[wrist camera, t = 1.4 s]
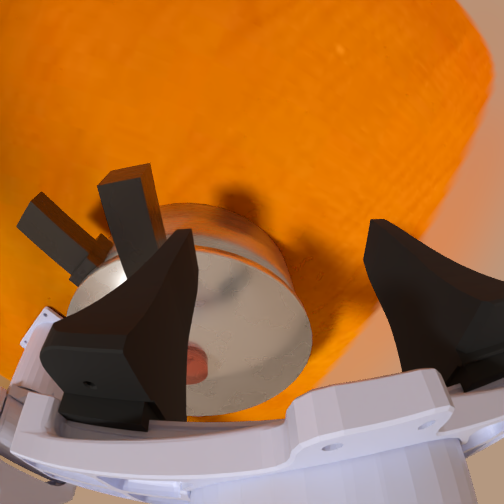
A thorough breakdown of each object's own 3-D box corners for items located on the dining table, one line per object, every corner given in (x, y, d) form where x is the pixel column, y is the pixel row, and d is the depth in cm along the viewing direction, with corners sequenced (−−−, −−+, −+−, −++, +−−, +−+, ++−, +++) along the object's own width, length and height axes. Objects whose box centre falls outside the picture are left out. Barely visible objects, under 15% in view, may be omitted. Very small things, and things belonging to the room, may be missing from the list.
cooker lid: (304, 396, 26) (310, 420, 24) (122, 410, 26) (118, 432, 24) (314, 141, 14) (331, 155, 12) (3, 196, 14) (-20, 217, 12)
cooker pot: (325, 295, 28) (345, 344, 23) (195, 375, 33) (194, 421, 28) (129, 95, 17) (96, 105, 12) (17, 248, 22) (-15, 289, 17)
